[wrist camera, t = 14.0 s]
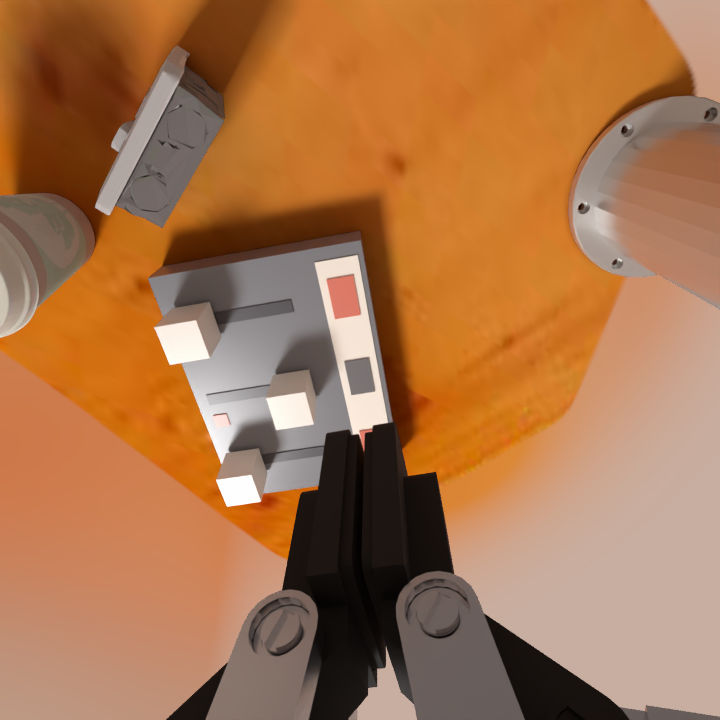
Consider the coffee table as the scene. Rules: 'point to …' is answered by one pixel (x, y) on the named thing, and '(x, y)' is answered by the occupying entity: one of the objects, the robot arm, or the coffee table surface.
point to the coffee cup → (38, 252)
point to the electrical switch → (162, 143)
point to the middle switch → (292, 400)
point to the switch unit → (284, 347)
